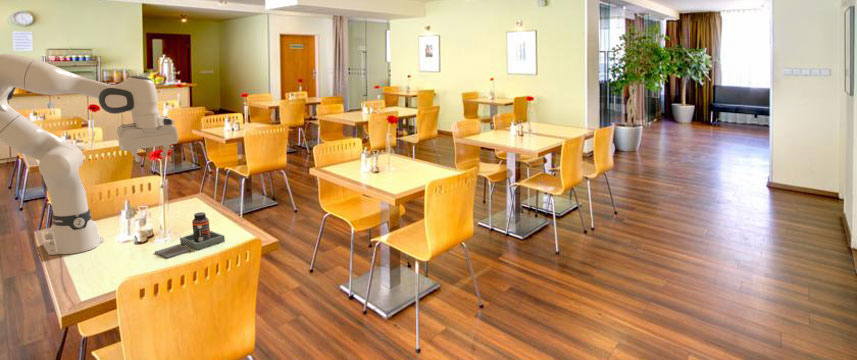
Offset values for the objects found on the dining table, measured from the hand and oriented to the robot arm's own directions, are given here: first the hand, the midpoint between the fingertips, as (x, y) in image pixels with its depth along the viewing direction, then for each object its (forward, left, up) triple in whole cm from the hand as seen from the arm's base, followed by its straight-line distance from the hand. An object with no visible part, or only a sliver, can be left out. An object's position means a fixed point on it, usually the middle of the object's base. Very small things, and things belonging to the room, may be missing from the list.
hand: (151, 159), depth 194 cm
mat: (+9, -1, -34) cm, 35 cm away
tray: (+9, +11, -34) cm, 37 cm away
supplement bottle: (+9, +11, -34) cm, 37 cm away
